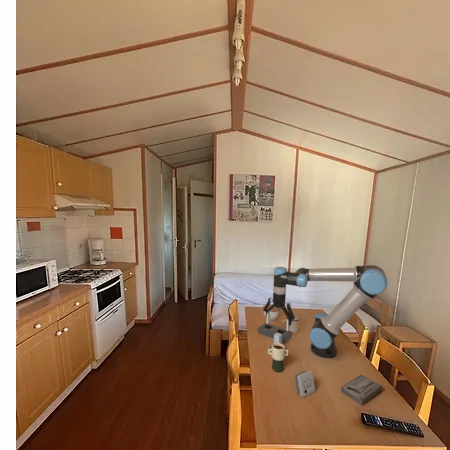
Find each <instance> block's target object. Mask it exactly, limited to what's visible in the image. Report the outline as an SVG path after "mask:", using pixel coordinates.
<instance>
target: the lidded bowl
mask: <svg viewBox="0 0 450 450" xmlns="http://www.w3.org/2000/svg"><path fill="white" fill-rule="evenodd" d="M272 305H273V304H270V305H269V306H268V308H267V310H268V309H269V308H270V307H271V306H272ZM265 306H266V304H265V305H263V306H262V310H263V309H264V307H265ZM269 312H270V321H276V319H277V318H278V317H279V315H280V308H277V307H273V308H272V309H271V310H270V311H269ZM262 313H263V315H264V317H265V318H266V312H265V311H263V312H262ZM266 320H267V318H266Z"/></svg>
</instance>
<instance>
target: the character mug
mask: <svg viewBox="0 0 450 450" xmlns="http://www.w3.org/2000/svg"><path fill="white" fill-rule="evenodd" d="M271 346H272V349H269V348H268V349H267V354H268V355H270V356H271V359H272V363H271V368H272V370H273V371H275V372H276V373H277V372H278V373H280V372H282V371H283V370H284V359H285V356H286V357H288V355H289V350H288V349H286V350H285V347H286V346H285V344H283V343H282V344H281V343H274V342H273V343H272V344H271ZM271 351H272V352H271Z"/></svg>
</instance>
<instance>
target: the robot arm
mask: <svg viewBox="0 0 450 450" xmlns="http://www.w3.org/2000/svg"><path fill="white" fill-rule="evenodd" d="M273 270H274V271H273V287H272V288H273V289H272V291H273V292H272V297H269V298H268V300H267V302H266V304H265V305H266V306H265V307H264V309H263V308H262V310H263V311H265V312H266V317H265V318H267V319H266V323H267V324H271V320H270V312H269V311H270V310H271V309H272V308H273V307H277V308H279V309H280V310H282V312H283V313H284V315H285V317H287V318H288V320H287V321H286V325H287V329H286V330H287V331H288V330H290V325H291V321H292V320H294V319H295V317H294V315H295V313H294V312H293V310H292V307H291V302H289V301H288V302H286V296H287V295H286V293H287V285H289V286H293V287H298V288H306V287H307V286H308V282H353V288H351V290H350V291H348V293H347V294H346V295H345V296H344V297H343V299H341V301H340V302H338V304H337V305H336V306H335V307H334V308H333V309H332V310H331V311H330V312H329V313H327V312H326V313H325V312H317V313H315V314H314V323H313V325H312V327H311V330H310V331H309V340H310V342H311V343H310V351H311V353H313V354H314V355H316V356H318V357H320V358H324V359H325V358H326V359H330V358H331V359H333V358H335V357H336V356H337V355H338V349H337V346H336V342H335V339H336V338H337V337H338V336H339V335H340V329H342V327H343V326H344V325H346V323H347V322H348V321H349V320H350V319H351V318H352V317H353V316H354V314H355V313H356V312H357V311H359V309H361V308H362V306H363V305H364V304H365V303H366V302H368V301H369V300H374V299H375V298H376V296H379V295H380V294H382V293H384V292H385V291H386V289H387V287H388V278H387V276H386V272H385V271H384V270H383V269H382V268H381V267H379V266H378V265H374V264H368V265H365V264H364V265H354V267H325V268H323V267H322V268H320V267H319V268H306V267H300V268H298V269H297V270H296V271H295V272H291V271H288V268H287V267H284V266H276V267H275V268H274V269H273ZM271 303H273V304H271ZM269 305H272V306H271V307H270V308H269V309H268V310H267V308H268V306H269ZM287 318H286V319H287Z"/></svg>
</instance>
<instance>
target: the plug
mask: <svg viewBox="0 0 450 450" xmlns="http://www.w3.org/2000/svg"><path fill="white" fill-rule="evenodd" d="M273 343H281V344H283V342H282V334H279V333H276V334H274V339H273Z"/></svg>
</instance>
